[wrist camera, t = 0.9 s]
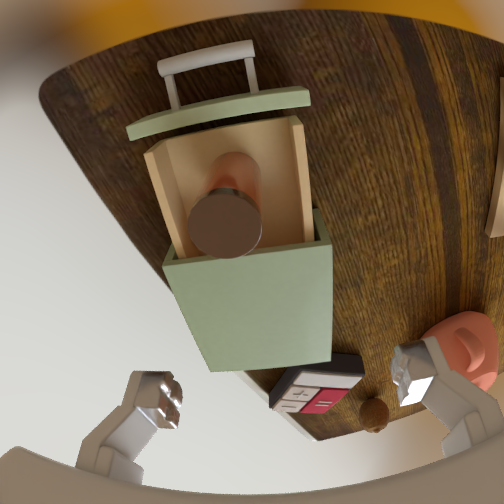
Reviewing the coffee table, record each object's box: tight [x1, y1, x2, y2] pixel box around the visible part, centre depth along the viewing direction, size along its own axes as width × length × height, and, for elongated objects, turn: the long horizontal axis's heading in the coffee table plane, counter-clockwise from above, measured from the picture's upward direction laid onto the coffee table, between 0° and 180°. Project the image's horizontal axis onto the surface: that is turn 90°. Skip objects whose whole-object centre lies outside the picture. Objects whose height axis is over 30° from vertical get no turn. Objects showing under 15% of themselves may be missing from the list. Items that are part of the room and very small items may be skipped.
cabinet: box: [162, 208, 333, 372], centre depth 32 cm, size 17×15×7 cm
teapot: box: [420, 311, 499, 391], centre depth 37 cm, size 25×17×13 cm
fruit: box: [359, 398, 389, 433], centre depth 49 cm, size 6×6×8 cm
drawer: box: [126, 40, 315, 259], centre depth 24 cm, size 20×13×5 cm
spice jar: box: [187, 152, 262, 259], centre depth 22 cm, size 5×5×9 cm
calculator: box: [269, 353, 365, 414], centre depth 45 cm, size 11×4×15 cm
